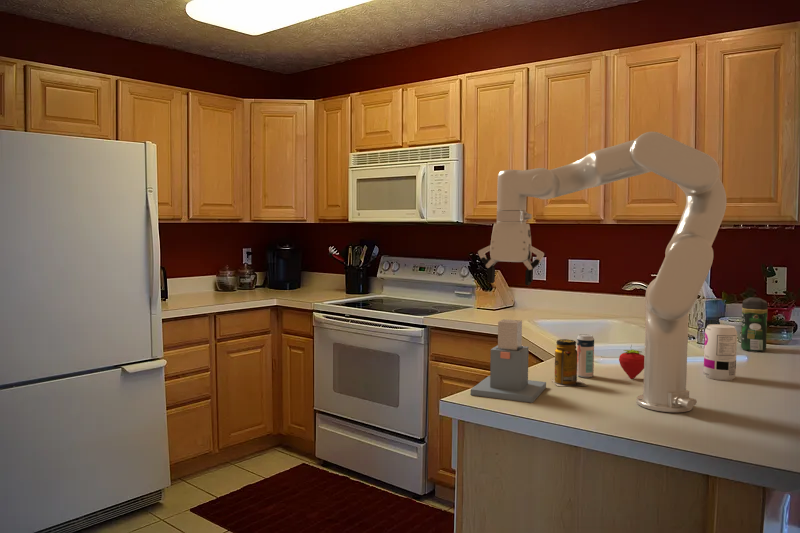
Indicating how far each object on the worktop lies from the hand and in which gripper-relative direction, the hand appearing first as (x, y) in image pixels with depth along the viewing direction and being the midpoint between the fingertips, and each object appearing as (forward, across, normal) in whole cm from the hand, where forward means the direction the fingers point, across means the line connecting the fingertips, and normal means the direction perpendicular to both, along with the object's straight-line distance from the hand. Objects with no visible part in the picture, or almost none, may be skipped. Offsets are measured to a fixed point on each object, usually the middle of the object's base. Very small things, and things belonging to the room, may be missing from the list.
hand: (509, 283), depth 160 cm
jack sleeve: (+28, -1, 0) cm, 28 cm away
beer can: (+28, -16, -26) cm, 41 cm away
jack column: (+27, -1, 0) cm, 27 cm away
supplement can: (+28, -52, -41) cm, 72 cm away
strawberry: (+28, -29, -28) cm, 49 cm away
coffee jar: (+28, -64, -92) cm, 116 cm away
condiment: (+29, -13, -16) cm, 35 cm away
